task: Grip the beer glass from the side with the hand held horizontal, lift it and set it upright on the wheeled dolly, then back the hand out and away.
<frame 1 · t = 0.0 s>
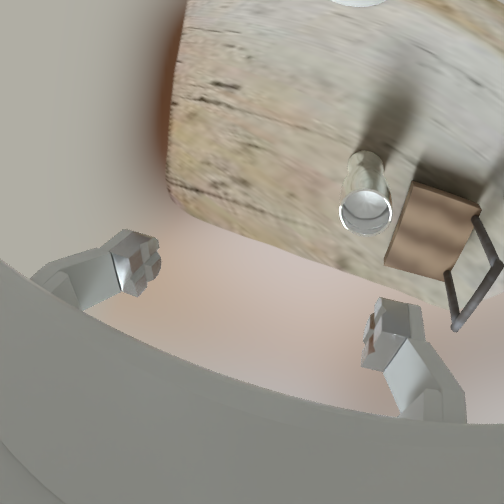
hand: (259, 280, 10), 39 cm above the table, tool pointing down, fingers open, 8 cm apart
beer glass: (365, 167, 43), on the table
dolly: (428, 224, 45), on the table
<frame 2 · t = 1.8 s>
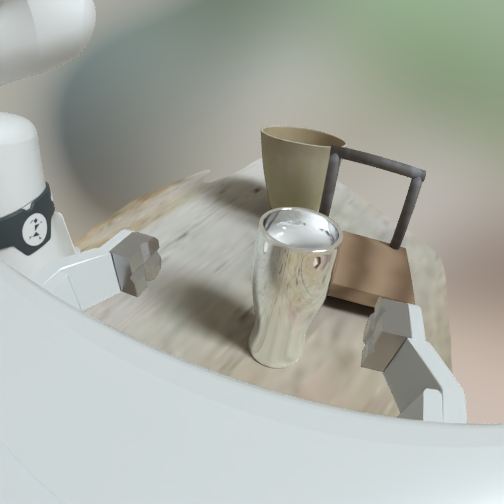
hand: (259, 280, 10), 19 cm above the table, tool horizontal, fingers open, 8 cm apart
plant pot: (292, 216, 55), on the table
beer glass: (275, 346, 31), on the table
dolly: (348, 283, 40), on the table
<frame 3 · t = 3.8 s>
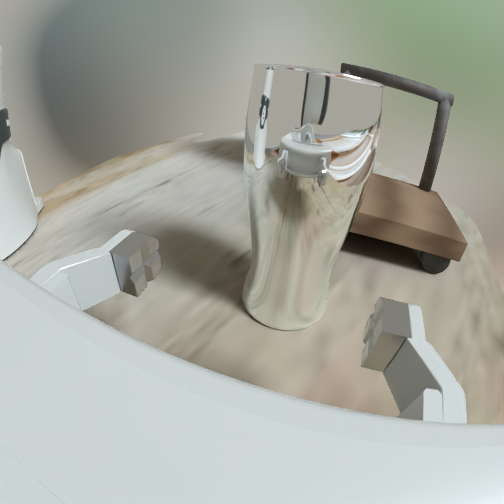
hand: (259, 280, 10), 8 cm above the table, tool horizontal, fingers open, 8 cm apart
beer glass: (284, 300, 21), on the table
dolly: (374, 230, 30), on the table
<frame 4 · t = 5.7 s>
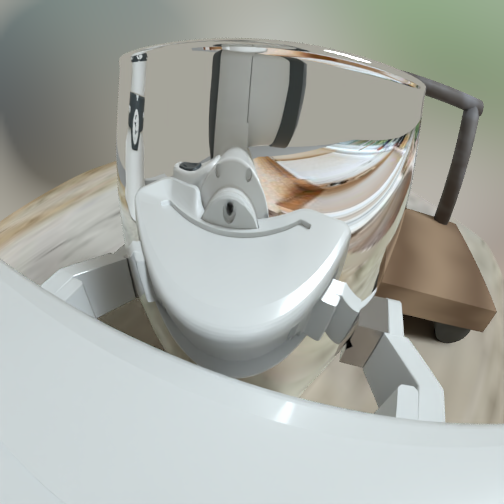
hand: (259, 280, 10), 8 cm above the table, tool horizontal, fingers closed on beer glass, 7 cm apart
beer glass: (241, 405, 14), on the table, touching gripper
dolly: (376, 279, 23), on the table
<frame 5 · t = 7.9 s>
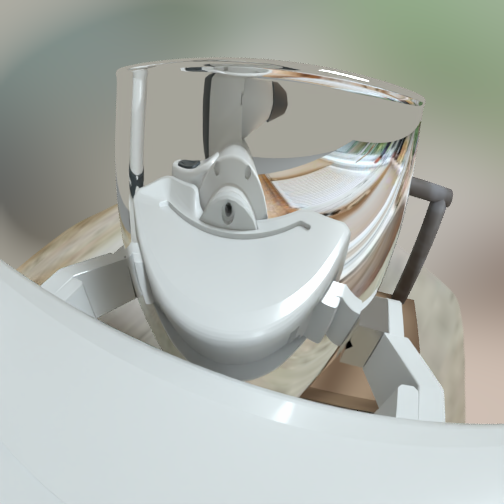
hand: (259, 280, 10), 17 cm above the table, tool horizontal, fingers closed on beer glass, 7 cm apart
beer glass: (240, 406, 14), point 8 cm above the table, touching gripper
dolly: (327, 357, 27), on the table
when the fingers open (14 cm above the table, at t = 10.0 s): beer glass drops 1 cm, resting on dolly.
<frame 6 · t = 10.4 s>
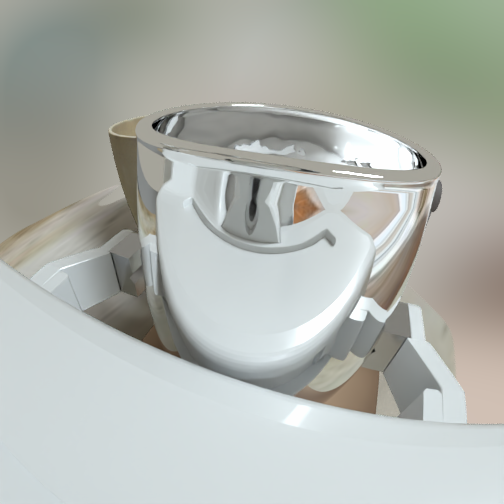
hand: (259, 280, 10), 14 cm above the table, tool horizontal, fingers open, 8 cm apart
plant pot: (192, 261, 34), on the table
beer glass: (247, 420, 15), point 4 cm above the table, touching dolly
dolly: (242, 425, 18), on the table
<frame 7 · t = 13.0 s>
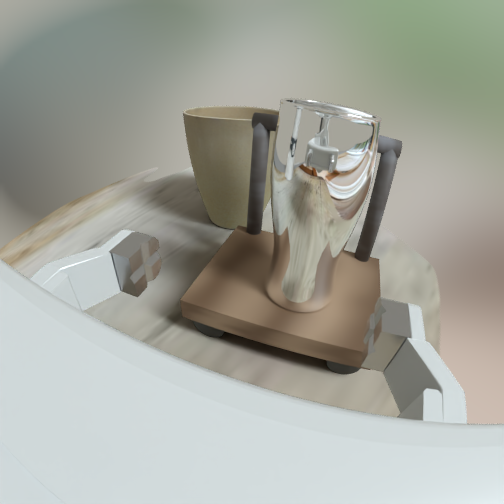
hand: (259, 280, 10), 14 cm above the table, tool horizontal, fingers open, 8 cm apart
plant pot: (234, 218, 44), on the table
beer glass: (298, 289, 25), point 4 cm above the table, touching dolly
dolly: (288, 312, 29), on the table
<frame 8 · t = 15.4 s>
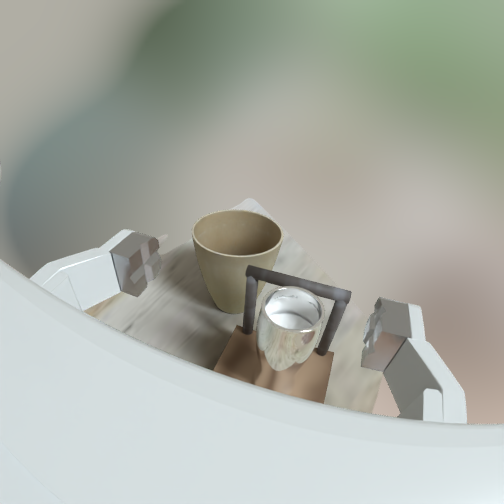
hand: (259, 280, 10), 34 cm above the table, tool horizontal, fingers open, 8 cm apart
plant pot: (234, 300, 57), on the table
beer glass: (274, 381, 38), point 4 cm above the table, touching dolly
dolly: (269, 387, 41), on the table
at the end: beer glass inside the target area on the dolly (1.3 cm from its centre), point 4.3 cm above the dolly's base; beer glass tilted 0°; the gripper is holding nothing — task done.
